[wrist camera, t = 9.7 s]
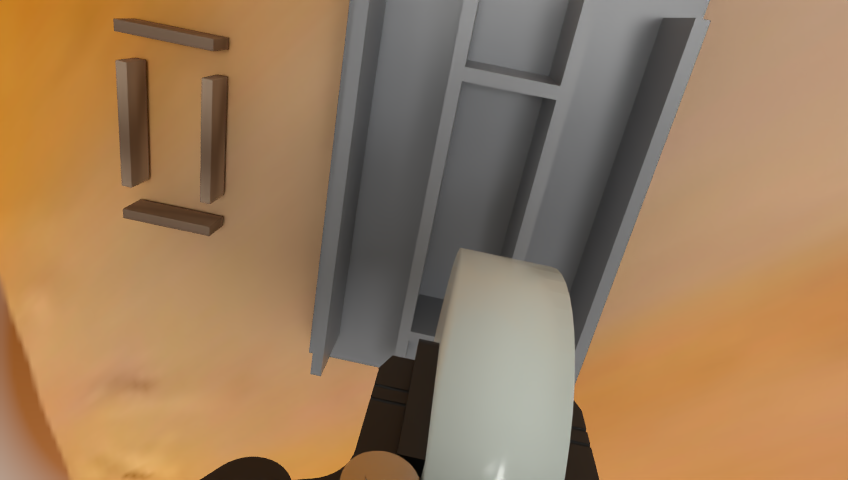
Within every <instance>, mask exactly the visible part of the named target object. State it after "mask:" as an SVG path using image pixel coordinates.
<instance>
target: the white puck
mask: <svg viewBox="0 0 848 480" xmlns="http://www.w3.org/2000/svg"><path fill="white" fill-rule="evenodd" d="M434 342H437V343H439V353H438V361H437V369H436V377H435V386H434V394H433V402H432V410H431V418H430V427H429V435H428V443H427V451H426V460H425V464H424V468H423V472H422V476H421V480H565V474H566V466H567V459H568V452H569V445H570V436H571V426H572V416H573V401H574V385H575V339H574V324H573V313H572V307H571V301H570V295H569V292H568V288H567V285H566V282H565V280H564V278H563V276H562V274H561V273H560V272H559V271H558V269H556V268H553V267H550V266H545V265H541V264H536V263H531V262H526V261H522V260H517V259H512V258H508V257H503V256H498V255H493V254H489V253H484V252H479V251H474V250H470V249H465V248H460V249H459V250H458V252H457V255H456V258H455V261H454V264H453V267H452V270H451V274H450V277H449V281H448V285H447V289H446V293H445V297H444V301H443V305H442V309H441V313H440V317H439V321H438V326H437V330H436V334H435V339H434Z"/></svg>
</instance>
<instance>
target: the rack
mask: <svg viewBox="0 0 848 480" xmlns="http://www.w3.org/2000/svg"><path fill="white" fill-rule="evenodd" d="M709 1H710V0H350V3H349V12H348V21H347V29H346V38H345V47H344V55H343V64H342V72H341V81H340V90H339V98H338V107H337V116H336V124H335V133H334V142H333V150H332V159H331V167H330V176H329V185H328V193H327V202H326V211H325V219H324V228H323V237H322V245H321V254H320V263H319V271H318V280H317V288H316V297H315V306H314V314H313V323H312V332H311V340H310V349H309V352H310V353H313V357H312V365H311V373H310V374H313V375H318V376H321V374H322V372H323V370H324V368H325V365H326V363H327V361H328V359H329V357H333V358H338V359H342V360H347V361H351V362H356V363H361V364H365V365H370V366H375V367H380V366H381V365H382V364H384V363H385V362H386V361H387V360H388V359H389V358H390V357H391V356H392V355H394V356H398V357H403V358H408V359H412V360H415V356H416V351H417V346H418V342H419V339H423V340H428V341H433V342H434V339H435V334H436V330H437V326H438V321H439V317H440V313H441V309H442V305H443V301H444V297H445V293H446V289H447V285H448V281H449V277H450V274H451V270H452V267H453V264H454V261H455V258H456V255H457V252H458V250H459V249H460V248H465V249H470V250H474V251H479V252H484V253H489V254H493V255H498V256H503V257H508V258H512V259H517V260H522V261H526V262H531V263H536V264H541V265H545V266H550V267H553V268H556V269H558V271H559V272H560V273H561V274H562V276H563V278H564V280H565V282H566V285H567V288H568V292H569V295H570V301H571V307H572V313H573V324H574V339H575V383H576V380H577V377H578V375H579V372H580V369H581V367H582V364H583V361H584V359H585V356H586V353H587V351H588V348H589V345H590V343H591V340H592V337H593V335H594V332H595V329H596V327H597V324H598V321H599V319H600V316H601V313H602V310H603V308H604V305H605V302H606V300H607V297H608V294H609V292H610V289H611V286H612V284H613V281H614V278H615V276H616V273H617V270H618V268H619V265H620V262H621V260H622V257H623V254H624V252H625V249H626V246H627V244H628V241H629V238H630V236H631V233H632V230H633V228H634V225H635V222H636V220H637V217H638V214H639V211H640V209H641V206H642V203H643V201H644V198H645V195H646V193H647V190H648V187H649V185H650V182H651V179H652V177H653V174H654V171H655V169H656V166H657V163H658V161H659V158H660V155H661V153H662V150H663V147H664V145H665V142H666V139H667V137H668V134H669V131H670V129H671V126H672V123H673V120H674V118H675V115H676V112H677V110H678V107H679V104H680V102H681V99H682V96H683V94H684V91H685V88H686V86H687V83H688V80H689V78H690V75H691V72H692V70H693V67H694V64H695V62H696V59H697V56H698V54H699V51H700V48H701V46H702V43H703V40H704V38H705V35H706V32H707V30H708V27H709V24H710V20H705V19H703V17H704V15H705V12H706V9H707V6H708V4H709Z"/></svg>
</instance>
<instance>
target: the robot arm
mask: <svg viewBox="0 0 848 480" xmlns="http://www.w3.org/2000/svg"><path fill="white" fill-rule="evenodd" d="M438 353H439V343H437V342H433V341H428V340H423V339H419V342H418V346H417V351H416V356H415V360H412V359H408V358H403V357H398V356H394V355H392V356H391V357H390V358H389V359H388V360H387V361H386V362H385V363H384V364H382V365H381V366H380V367H379V371H378V374H377V378H376V381H375V385H374V388H373V391H372V395H371V399H370V402H369V405H368V409H367V412H366V415H365V419H364V422H363V426H362V429H361V433H360V436H359V439H358V443H357V446H356V450H355V452H354V455H353V456H352V458H351V460H350V461H349V462H348V463H347V464H346V465H345V466H344V467H343V468H341V469H340V470H338V471H337V472H335V473H333V474H330V475H328V476H324V477H320V478H313V479H300V480H421V476H422V472H423V468H424V464H425V460H426V451H427V443H428V435H429V427H430V418H431V410H432V402H433V394H434V386H435V377H436V369H437V361H438ZM201 480H291V478H290V476H289V474H288V473H287V471H286V470H285V469H284V468H283V467H282V466H281V465H279V464H278V463H276V462H274V461H272V460H270V459H266V458H261V457H245V458H240V459H236V460H233V461H231V462H228V463H226V464H225V465H223V466H221V467H219V468H218V469H216V470H215V471H213V472H212V473H210V474H208V475H207V476H205V477H204V478H202V479H201ZM565 480H599V477H598V473H597V469H596V465H595V461H594V457H593V453H592V450H591V448H590V442H589V438H588V434H587V432H586V426H585V422H584V418H583V414H582V411H581V409H580V408H579V407H578V405H577V404H576V403H575V401H573V416H572V426H571V436H570V445H569V452H568V459H567V466H566V474H565Z"/></svg>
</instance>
